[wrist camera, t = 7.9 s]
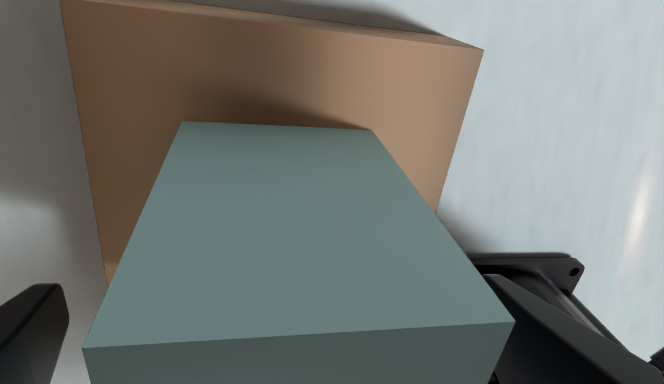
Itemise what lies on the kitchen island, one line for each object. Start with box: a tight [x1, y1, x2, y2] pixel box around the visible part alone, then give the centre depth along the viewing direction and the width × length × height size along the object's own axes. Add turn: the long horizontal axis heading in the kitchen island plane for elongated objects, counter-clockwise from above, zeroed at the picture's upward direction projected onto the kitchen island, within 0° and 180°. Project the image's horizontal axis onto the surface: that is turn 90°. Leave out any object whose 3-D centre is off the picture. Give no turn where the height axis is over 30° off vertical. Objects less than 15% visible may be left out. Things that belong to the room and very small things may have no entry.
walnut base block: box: [59, 0, 484, 288], centre depth 13 cm, size 10×10×3 cm
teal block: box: [82, 121, 516, 384], centre depth 9 cm, size 5×5×7 cm
